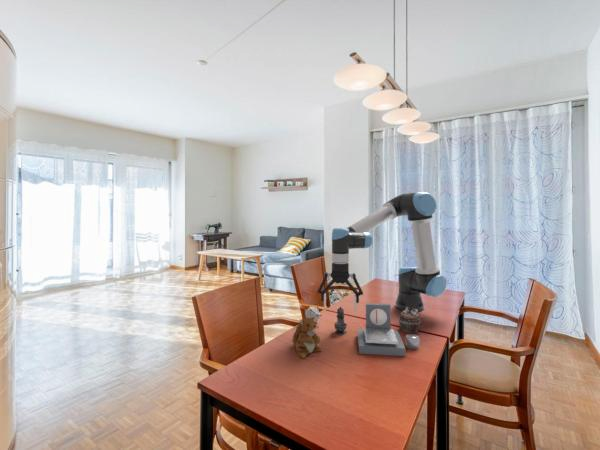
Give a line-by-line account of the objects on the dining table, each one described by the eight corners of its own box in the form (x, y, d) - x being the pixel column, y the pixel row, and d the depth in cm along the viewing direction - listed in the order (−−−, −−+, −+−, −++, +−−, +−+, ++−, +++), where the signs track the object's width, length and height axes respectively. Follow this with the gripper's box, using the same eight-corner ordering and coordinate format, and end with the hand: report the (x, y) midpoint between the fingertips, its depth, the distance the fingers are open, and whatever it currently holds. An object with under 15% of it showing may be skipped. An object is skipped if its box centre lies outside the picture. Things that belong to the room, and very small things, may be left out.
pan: (393, 333, 122) (393, 329, 122) (398, 347, 110) (398, 341, 110) (363, 332, 124) (363, 327, 124) (365, 345, 112) (365, 340, 112)
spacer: (417, 343, 120) (417, 334, 119) (420, 349, 115) (420, 339, 115) (404, 343, 120) (404, 333, 120) (407, 348, 116) (407, 338, 115)
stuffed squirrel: (303, 360, 108) (303, 325, 107) (285, 345, 120) (284, 314, 119) (325, 353, 113) (325, 319, 112) (305, 339, 125) (305, 309, 124)
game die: (315, 328, 145) (327, 312, 146) (311, 329, 138) (323, 311, 139) (302, 317, 149) (313, 301, 150) (297, 317, 142) (309, 300, 143)
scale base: (397, 338, 125) (398, 303, 125) (405, 356, 109) (405, 317, 109) (357, 335, 128) (357, 302, 127) (359, 353, 112) (359, 315, 111)
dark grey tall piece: (333, 329, 135) (332, 304, 134) (345, 329, 135) (345, 303, 135) (335, 335, 129) (335, 308, 128) (348, 334, 129) (348, 308, 129)
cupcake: (399, 324, 141) (399, 303, 140) (421, 327, 137) (421, 306, 136) (397, 331, 132) (397, 309, 132) (420, 335, 128) (420, 312, 127)
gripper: (368, 261, 132) (367, 307, 133) (313, 260, 136) (313, 305, 137) (369, 264, 125) (368, 313, 126) (311, 263, 129) (311, 310, 130)
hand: (339, 309), depth 131 cm, fingers open, 13 cm apart
